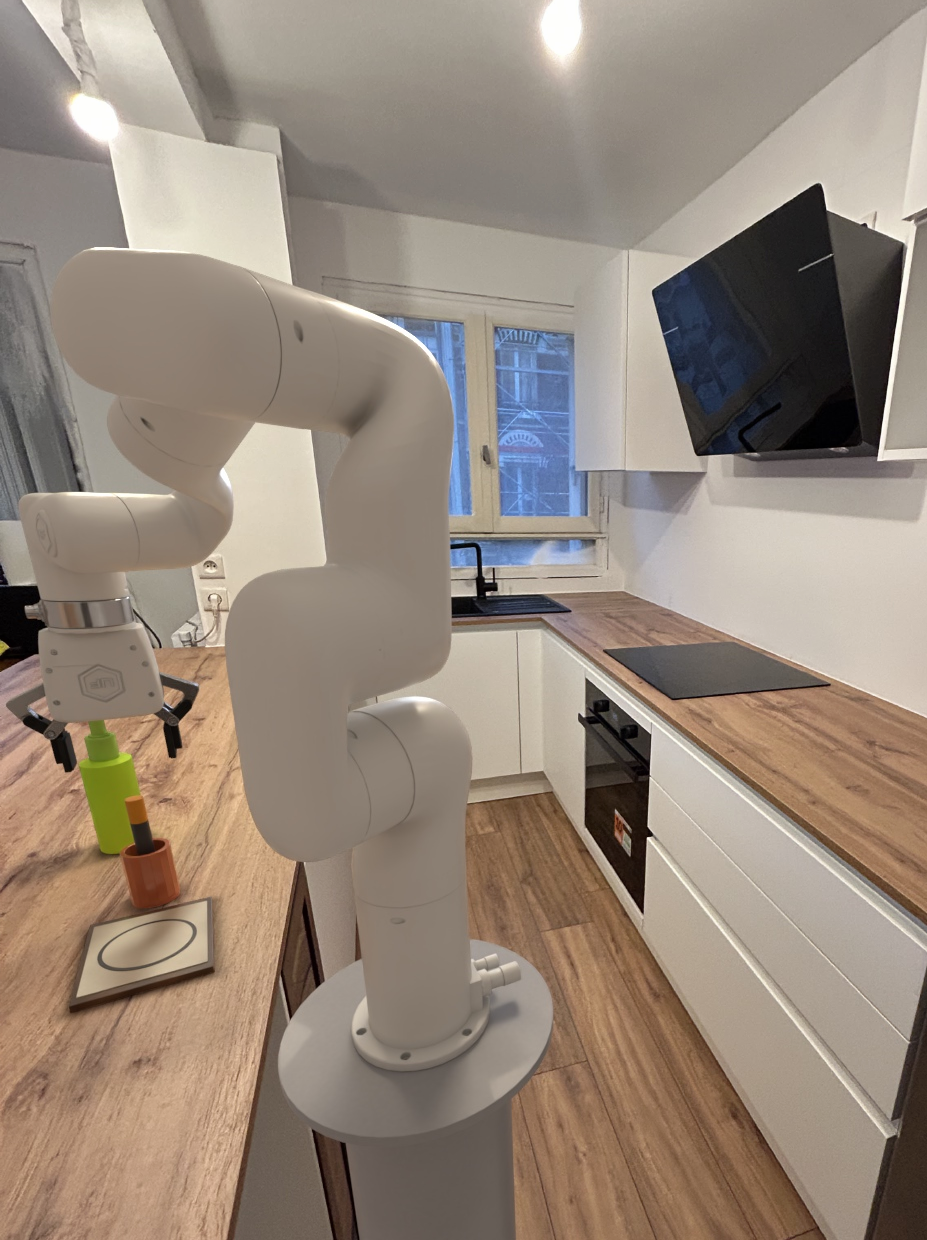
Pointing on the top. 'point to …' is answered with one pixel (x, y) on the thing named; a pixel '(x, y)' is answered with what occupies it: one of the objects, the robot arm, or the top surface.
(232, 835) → the top surface
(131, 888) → the pen pot
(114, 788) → the soap dispenser
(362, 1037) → the robot arm
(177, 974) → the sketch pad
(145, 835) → the marker
